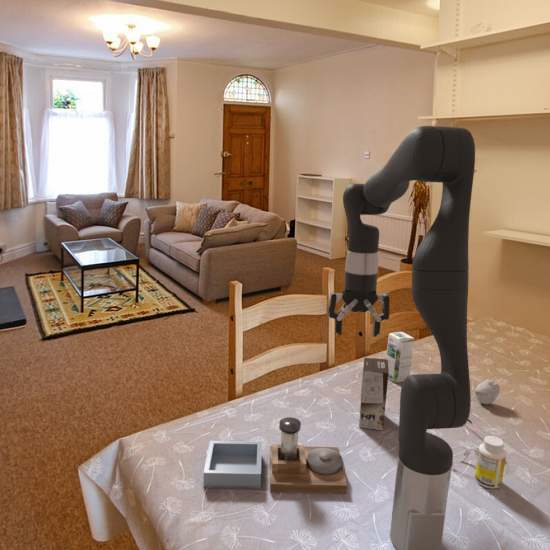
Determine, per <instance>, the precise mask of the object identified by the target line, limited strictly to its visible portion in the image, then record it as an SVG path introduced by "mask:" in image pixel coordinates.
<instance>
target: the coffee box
mask: <svg viewBox="0 0 550 550" xmlns="http://www.w3.org/2000/svg"><path fill="white" fill-rule="evenodd" d="M362 368H363V369H362V379H361V393H360V405H359V406H360V407H359V408H360V409H359V418H358V419H359V423H358V427H359V428H363V429H370V430H376V431H377V430H378V431H383V430H384V422H385V413H386V405H387V404H386V402H387V393H388V382H389V378H388V374H389V369H388V360H387V359H386V358H374V357H372V358H371V357H364V358H363V367H362Z"/></svg>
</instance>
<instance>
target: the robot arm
mask: <svg viewBox="0 0 550 550" xmlns="http://www.w3.org/2000/svg"><path fill="white" fill-rule="evenodd" d="M398 145H399V146H398V147H397V148H396V149H395V150H394V152H393V153H392V155H391V156H390V158H389V159H388V161H387V162H386V164H385V165H384V166H383V167H382V168H381V169H379V170H378V171H377V172H375V173H373V174H372V175H371V176H370V177H369V178H368V179H366V181H365V183H351V184H348V185H347V187H346V188H345V189H344V191H343V194H342V203H343V208H344V209H343V210H344V213H345V217H346V223H347V224H346V225H347V229H348V230H347V231H348V232H347V233H348V237H347V238H348V240H347V241H348V242H347V252H346V253H347V254H346V258H345V264H344V267H345V272H344V288H343V291H342V293H339V292H335V291H333V290H332V291H331V292H330V297H329V304H328V312H327V313H328V316H329V319H334V320H335V321H334V326H335V327H334V330H335V333H336V334H337V335H338V336H342V334H343V333H342V332H343V331H342V330H343V329H342V328H343V318H345V316H346V315H348V314H349V313H350V311H351V312H352V313H358V312H360V313H367V312H368V311H369V312H370V314H371V315H372V317H373V318H374V319H373V322H372V336H373V337H376V338H377V336H378V335H380V331H381V323H382V322H383V321H388V320H389V319H390V296H389V294H388V293H387V292H384V293H382V294H378V293H377V283H378V270H379V244H380V230H379V228H378V227H377V226H375V225H372V224H367V223H364V222H363V221H362V218H361V215H362V216H369V215H370V216H377V215H383V214H386V213H387V211H388V210H389V208H390V206H391V205H392V203H394V202H396V201H397V200H399V199H401V198H402V197H403V196H404V195H405V194H406V192H407V191H408V189H409V187H410V182H412V181H418V182H421V183H442V191H441V199H440V205H439V208H438V209H439V210H438V211H437V212H438V213H437V214H436V218H435V219H434V221H433V223H432V225H431V226H430V228H429V229H428V231H427V232H426V234H425V235H424V237H423V239H422V240H421V242H420V244H419V245H418V247H417V249H416V252H414V256H413V257H412V262H411V264H412V265H411V297H412V301H413V303H414V306H415V308H416V310H417V311H418V313H419V315H420V317H421V318H422V319H423V321H424V323H425V324H426V326H427V327H428V329H429V330H430V333H431V334H432V336H433V338H434V340H435V342H436V344H437V347H438V350H439V357H440V364H441V366H440V368H441V369H440V373H421V374H417V373H416V374H410V375H409V376H407V377H406V378H405V379H404V381H403V382H402V385H401V387H400V388H401V389H400V397H399V421H398V422H399V423H398V454H397V462H396V463H397V464H396V473H395V481H394V493H393V499H392V500H393V502H392V509H391V510H392V512H391V521H390V522H391V523H390V531H389V538H390V541H391V544H392V545H393V547H395V549H396V550H441V548H442V541H443V536H444V528H445V527H444V526H445V519H446V512H447V505H448V497H449V489H450V483H451V482H450V481H451V476H452V475H451V474H452V468H453V467H452V466H453V463H452V462H454V461H453V460H454V452H453V450H452V449H453V448H452V447H451V445H450V444H449V443H448V442H447V441H446V440H444V439H443V438H441V437H440V436H438V435H435V434H432V433H430V432H428V431H427V430H438V429H439V430H441V429H458V428H462V427H464V426H466V424H467V423H468V422H469V421H468V419H469V418H470V413H471V407H472V406H471V404H472V402H471V401H472V399H471V398H472V397H471V396H472V395H471V381H470V367H469V354H468V353H469V352H468V300H469V298H468V297H469V269H470V268H469V235H470V231H469V230H470V213H471V212H470V211H471V203H472V202H471V201H472V193H473V185H474V177H475V166H476V165H475V163H476V145H475V141H474V136H473V135H472V133H471V131H469V130H468V129H467V128H464V127H456V126H441V125H440V126H438V125H421V126H418V127H416V128H413V130H411V131H410V132H408V134H407V135H406V136H405V137H404V138H403V140H402V141H401V142H400V144H398ZM340 299H341V300H342V301H343V302H344V303H343V305H342V306H341V307H340V309H339V310H338V311H337V312H336V304H337V303H339V302H340ZM377 301H379V302H380V304H382V305H381V308H382V309H381V313H378V312H377V310H376V308H375V307H374V305H375V304H376V302H377Z"/></svg>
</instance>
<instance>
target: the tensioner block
mask: <svg viewBox="0 0 550 550" xmlns="http://www.w3.org/2000/svg"><path fill="white" fill-rule="evenodd" d="M280 456H281V444H271V445H270V446H269V493H287V494H288V493H292V494H294V493H295V494H297V493H298V494H340V495H346V494H347V488H348V483H347V481H346V476H345V471H344V466H343V457H342V455H341V453H340V449H339V446H305V445H304V444H297V461H282V460H280Z"/></svg>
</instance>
